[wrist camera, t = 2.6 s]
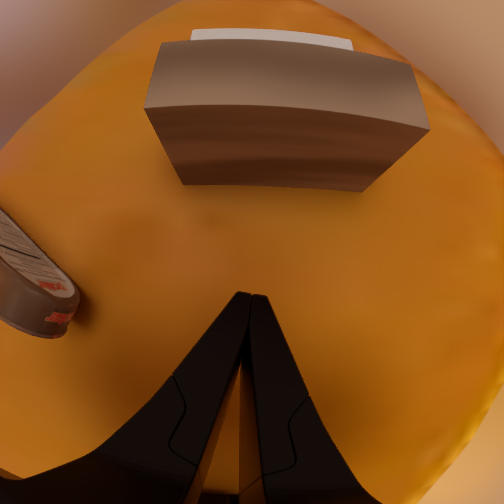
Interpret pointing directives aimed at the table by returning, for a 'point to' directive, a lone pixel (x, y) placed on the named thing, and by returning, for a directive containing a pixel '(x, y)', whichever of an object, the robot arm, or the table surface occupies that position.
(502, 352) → the table surface
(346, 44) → the mat
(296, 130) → the walnut board
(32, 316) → the tin
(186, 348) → the table surface
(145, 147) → the table surface
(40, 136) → the table surface
